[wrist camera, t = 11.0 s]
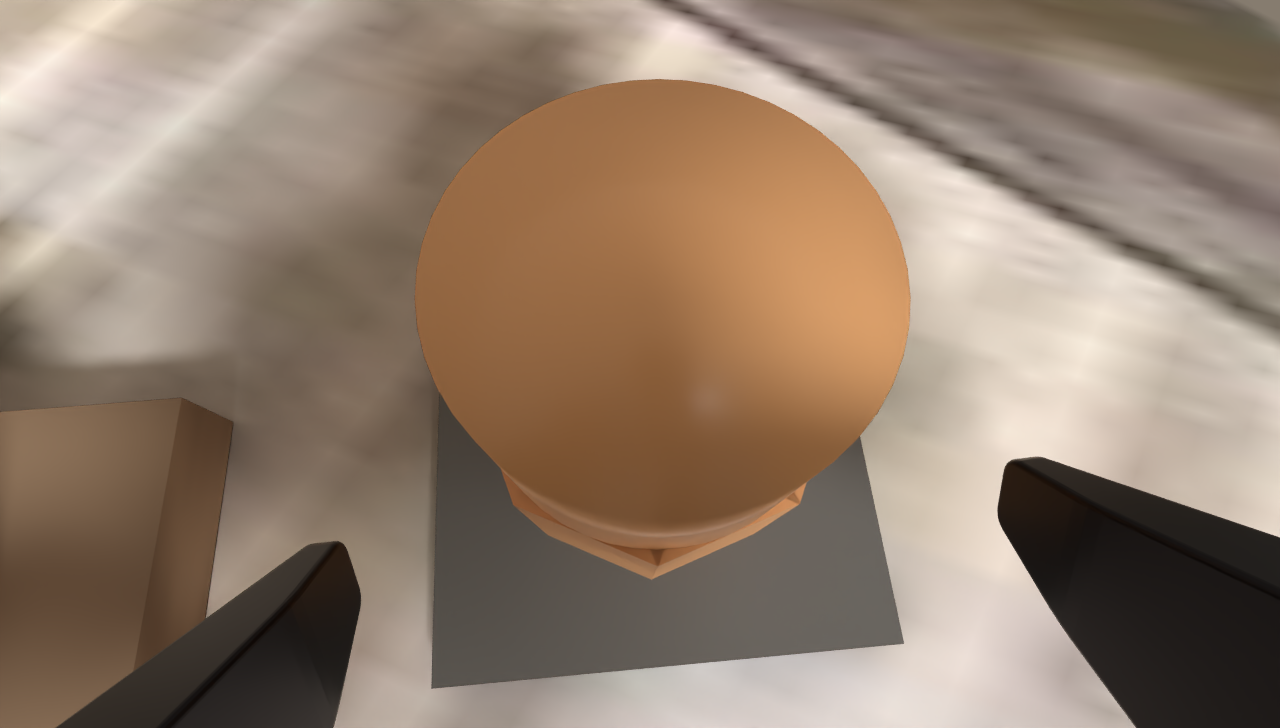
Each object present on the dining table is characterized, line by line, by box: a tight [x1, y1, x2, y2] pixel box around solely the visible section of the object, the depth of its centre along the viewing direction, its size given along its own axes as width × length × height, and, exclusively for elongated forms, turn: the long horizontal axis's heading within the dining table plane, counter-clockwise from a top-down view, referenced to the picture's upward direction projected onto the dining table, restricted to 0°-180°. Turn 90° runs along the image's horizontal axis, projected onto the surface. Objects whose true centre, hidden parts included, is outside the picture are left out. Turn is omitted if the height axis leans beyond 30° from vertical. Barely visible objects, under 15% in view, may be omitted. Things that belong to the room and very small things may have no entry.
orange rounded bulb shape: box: [415, 79, 910, 580], centre depth 12 cm, size 6×6×8 cm
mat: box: [431, 392, 904, 689], centre depth 16 cm, size 10×10×1 cm
